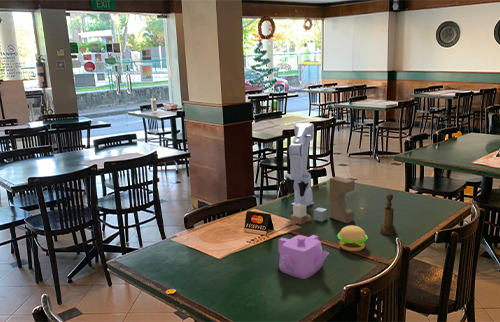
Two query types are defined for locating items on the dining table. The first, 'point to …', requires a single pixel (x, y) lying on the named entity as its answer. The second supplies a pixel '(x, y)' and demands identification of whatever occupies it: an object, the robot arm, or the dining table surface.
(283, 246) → the teakettle
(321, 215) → the slate block
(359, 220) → the dining table surface
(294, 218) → the walnut slab
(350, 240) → the hamburger
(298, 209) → the cream block
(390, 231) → the brown wooden tall piece
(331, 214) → the decorative block
